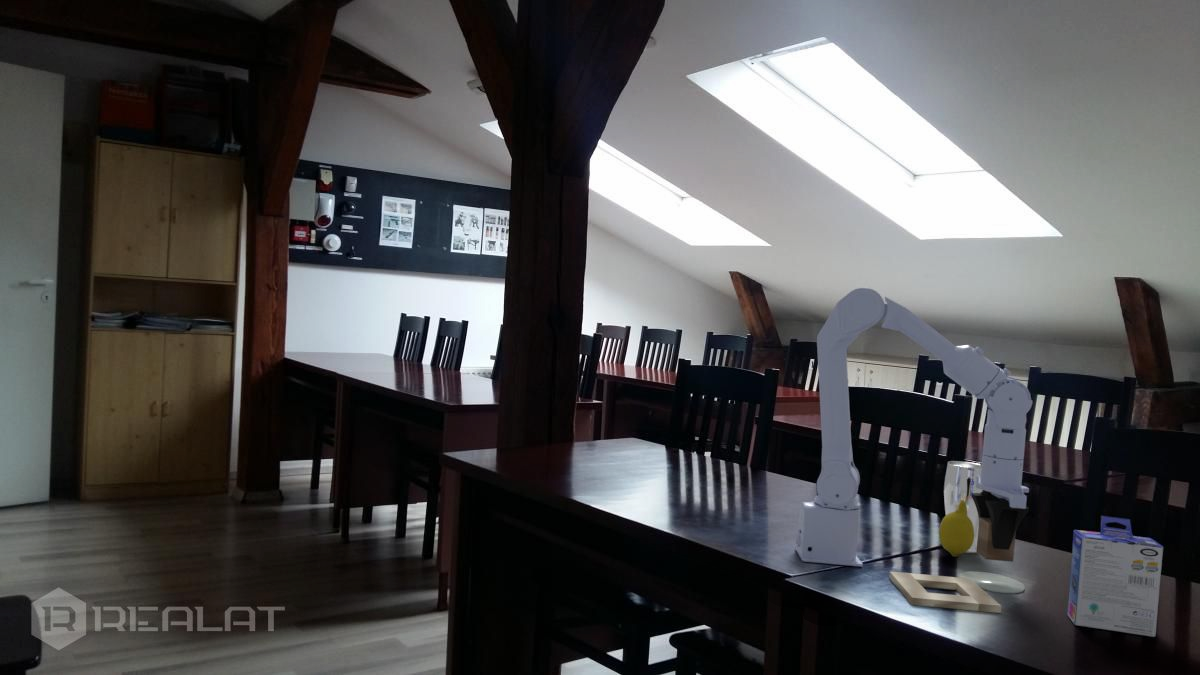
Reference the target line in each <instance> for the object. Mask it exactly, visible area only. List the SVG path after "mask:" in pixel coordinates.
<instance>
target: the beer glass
mask: <svg viewBox="0 0 1200 675" xmlns="http://www.w3.org/2000/svg"><path fill="white" fill-rule="evenodd" d="M981 467H982V463H975V462H970V461H961V460H959V461H958V460H956V461H955V460H950V461H947V466H946V472H945V476H944V485H943V496H944V497H943V498H944V511H945V516H946V515H947V514H949V513H952V512H955V511H956V510H959V511H961V512H962V513H963V514H965V515H966V516H968V517H969V518H970V520H971V521H972V524H973V527H974V541H973V544H972V546H971V548H970V549H969V550H968V551H966V552H965V553H964V554H978V553H977V552H976V550H977V539H978V527H979V516H978V512H977V508H976V505H975V503H974V501H973V498H972V496H971V494H972V493H981V492H982V489H979V488H976V478H977V476H981Z"/></svg>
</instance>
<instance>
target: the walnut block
mask: <svg viewBox="0 0 1200 675" xmlns="http://www.w3.org/2000/svg"><path fill="white" fill-rule="evenodd" d="M1016 535H1017V533H1016V532H1015V534H1014V537H1013V540H1012V543H1011V546H1010V548H1009V550H1006V549H995V548H994V547H993V542H992V524H991V518H983V517H979V527H978V539H977V550H976V552H977V553H976V554H978V555H980V556H981V557H982V558H983V559H984V560H988V561H989V560H990V561H1002V562H1010V563H1011V562H1012V563H1014V558H1015V557H1014V556H1015V544H1016Z"/></svg>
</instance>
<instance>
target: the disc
mask: <svg viewBox="0 0 1200 675" xmlns="http://www.w3.org/2000/svg"><path fill="white" fill-rule="evenodd" d="M959 578H969V579H971V580H972V581H974V582H975V583H976V584H977V585H978V586H979V587H980V588H981V589H983V590H984V591H988V592H993V593H999V594H1000V593H1001V594H1020V593H1023V592H1024V591H1025V584H1024V583H1022V582H1020V581H1018V580H1017V579H1014V578H1012V577H1008V576H1005V575H1001V574H998V573H993V572H985V571H964V572H962V573H960V576H959Z"/></svg>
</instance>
